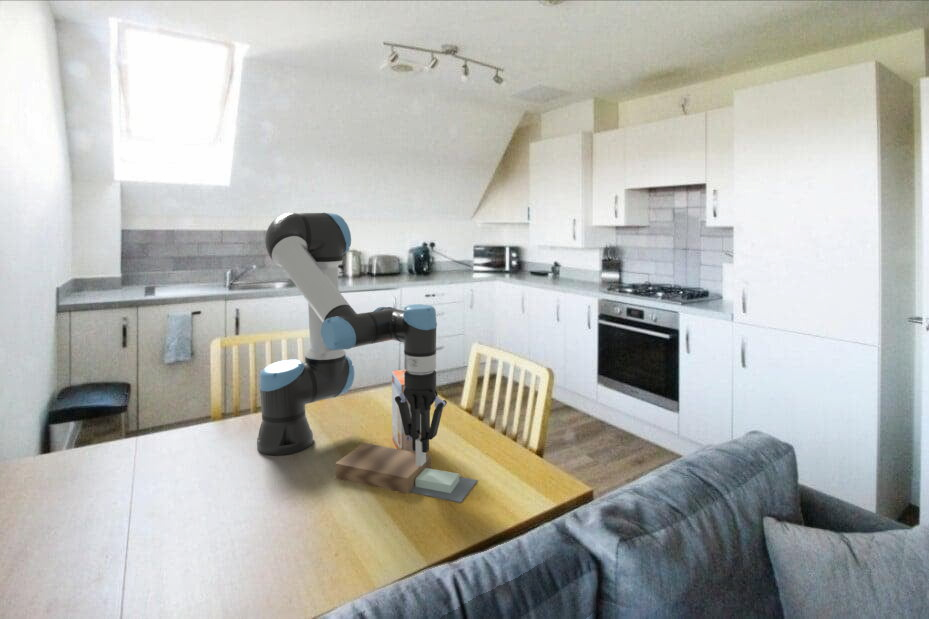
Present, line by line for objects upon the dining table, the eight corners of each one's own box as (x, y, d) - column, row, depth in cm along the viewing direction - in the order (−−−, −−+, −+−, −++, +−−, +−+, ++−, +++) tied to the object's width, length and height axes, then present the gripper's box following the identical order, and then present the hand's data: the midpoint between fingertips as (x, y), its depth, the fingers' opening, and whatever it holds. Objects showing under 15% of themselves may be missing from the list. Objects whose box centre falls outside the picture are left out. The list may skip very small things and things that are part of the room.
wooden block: (335, 478, 133) (335, 463, 132) (364, 456, 144) (363, 442, 144) (407, 494, 125) (407, 478, 125) (431, 469, 137) (431, 455, 137)
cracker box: (423, 456, 145) (422, 382, 141) (401, 459, 143) (400, 384, 139) (412, 436, 158) (411, 368, 154) (391, 439, 156) (390, 369, 152)
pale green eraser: (415, 486, 128) (415, 478, 128) (425, 475, 134) (425, 467, 133) (450, 493, 125) (450, 485, 125) (459, 481, 131) (459, 473, 130)
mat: (409, 492, 126) (409, 490, 126) (429, 471, 136) (429, 470, 136) (460, 503, 122) (460, 501, 121) (477, 481, 132) (477, 479, 132)
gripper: (388, 371, 125) (389, 465, 129) (439, 378, 120) (438, 475, 125) (403, 363, 132) (404, 452, 136) (451, 369, 127) (451, 461, 132)
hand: (420, 463), depth 130 cm, fingers closed
